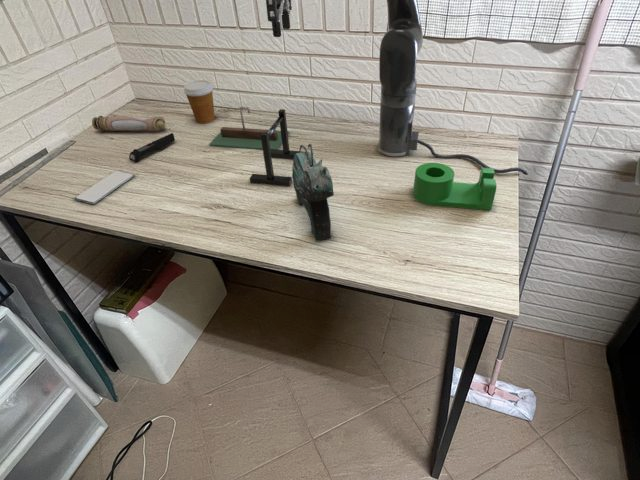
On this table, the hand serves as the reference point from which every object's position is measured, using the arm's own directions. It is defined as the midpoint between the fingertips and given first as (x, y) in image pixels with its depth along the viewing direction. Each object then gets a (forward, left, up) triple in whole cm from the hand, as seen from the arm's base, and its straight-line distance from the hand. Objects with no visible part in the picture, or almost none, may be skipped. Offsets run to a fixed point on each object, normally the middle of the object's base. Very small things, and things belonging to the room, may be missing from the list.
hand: (282, 32), depth 122 cm
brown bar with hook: (+10, +12, -28) cm, 32 cm away
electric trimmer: (+37, +24, -28) cm, 52 cm away
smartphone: (+39, +45, -28) cm, 66 cm away
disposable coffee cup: (+31, 0, -28) cm, 42 cm away
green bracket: (-51, +34, -28) cm, 68 cm away
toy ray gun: (-20, +49, -28) cm, 60 cm away
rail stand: (-5, +28, -28) cm, 40 cm away
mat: (+10, +12, -28) cm, 32 cm away
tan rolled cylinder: (+52, +12, -25) cm, 59 cm away
